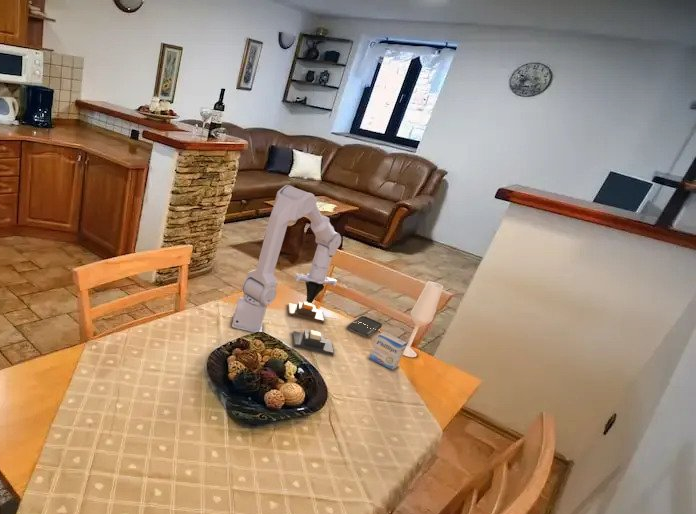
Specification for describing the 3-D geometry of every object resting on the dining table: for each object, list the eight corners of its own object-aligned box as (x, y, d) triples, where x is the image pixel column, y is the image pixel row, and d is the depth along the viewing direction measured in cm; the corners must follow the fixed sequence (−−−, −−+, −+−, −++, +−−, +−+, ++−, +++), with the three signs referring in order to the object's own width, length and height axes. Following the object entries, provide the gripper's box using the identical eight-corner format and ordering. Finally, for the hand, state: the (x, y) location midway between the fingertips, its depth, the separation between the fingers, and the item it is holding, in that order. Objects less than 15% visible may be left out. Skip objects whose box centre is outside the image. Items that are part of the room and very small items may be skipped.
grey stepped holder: (293, 347, 152) (296, 338, 150) (292, 334, 160) (295, 325, 158) (332, 356, 151) (335, 347, 150) (329, 342, 159) (332, 334, 158)
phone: (383, 324, 178) (368, 335, 167) (382, 326, 179) (367, 338, 167) (362, 315, 182) (346, 325, 171) (361, 318, 182) (345, 328, 171)
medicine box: (368, 358, 154) (377, 334, 150) (374, 354, 157) (384, 330, 153) (392, 370, 150) (402, 345, 146) (397, 366, 153) (408, 342, 149)
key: (309, 338, 153) (311, 334, 152) (309, 334, 156) (310, 329, 155) (320, 341, 153) (321, 336, 152) (319, 336, 156) (320, 332, 155)
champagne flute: (416, 359, 160) (447, 290, 149) (395, 352, 162) (424, 284, 151) (416, 351, 166) (446, 284, 155) (396, 344, 168) (424, 278, 157)
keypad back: (288, 315, 172) (290, 308, 171) (287, 305, 180) (290, 298, 179) (322, 323, 172) (325, 315, 170) (320, 313, 180) (323, 305, 178)
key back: (302, 308, 173) (304, 304, 173) (302, 305, 176) (303, 301, 176) (311, 310, 173) (313, 306, 173) (311, 307, 176) (312, 303, 175)
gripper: (304, 266, 163) (293, 304, 169) (345, 272, 166) (332, 309, 172) (297, 259, 169) (286, 295, 175) (336, 264, 172) (325, 300, 178)
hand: (309, 301), depth 174 cm, fingers closed
